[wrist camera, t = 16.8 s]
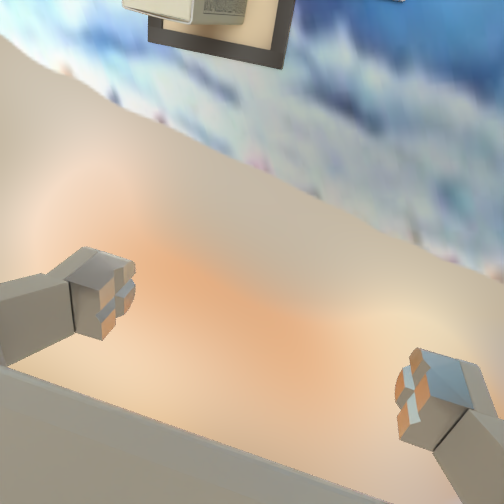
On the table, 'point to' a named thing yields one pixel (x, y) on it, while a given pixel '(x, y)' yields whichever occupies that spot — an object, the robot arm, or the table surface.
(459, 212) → the table surface
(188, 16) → the skincare box
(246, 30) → the framed board
